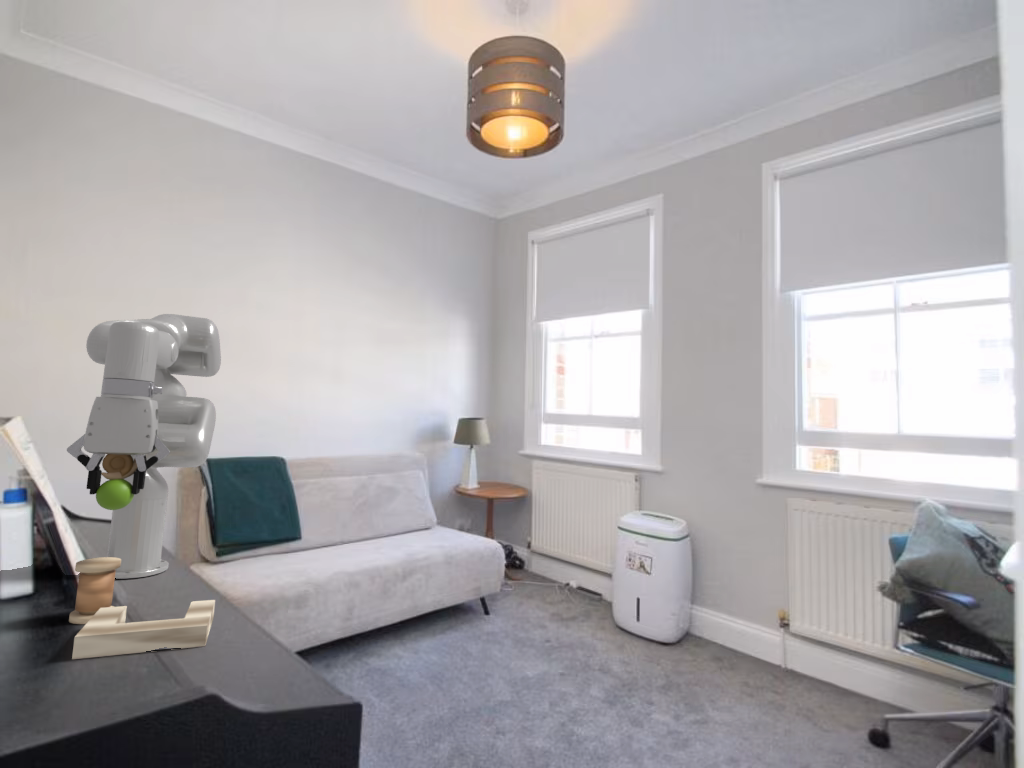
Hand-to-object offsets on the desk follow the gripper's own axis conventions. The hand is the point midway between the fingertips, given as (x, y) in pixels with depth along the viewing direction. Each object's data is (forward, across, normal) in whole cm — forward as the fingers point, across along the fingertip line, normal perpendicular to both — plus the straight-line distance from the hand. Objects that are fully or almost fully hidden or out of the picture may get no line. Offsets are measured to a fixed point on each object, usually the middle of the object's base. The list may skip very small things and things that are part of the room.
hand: (115, 492), depth 93 cm
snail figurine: (+3, 0, 0) cm, 3 cm away
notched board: (+20, -9, +15) cm, 27 cm away
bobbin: (+20, 0, +4) cm, 20 cm away
